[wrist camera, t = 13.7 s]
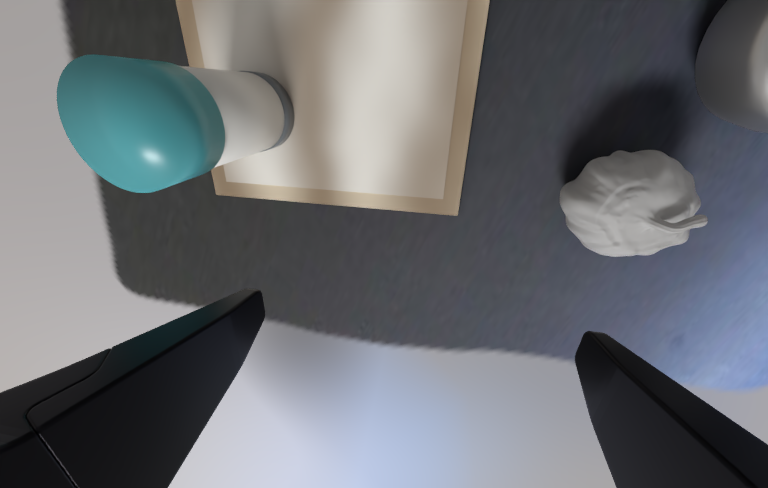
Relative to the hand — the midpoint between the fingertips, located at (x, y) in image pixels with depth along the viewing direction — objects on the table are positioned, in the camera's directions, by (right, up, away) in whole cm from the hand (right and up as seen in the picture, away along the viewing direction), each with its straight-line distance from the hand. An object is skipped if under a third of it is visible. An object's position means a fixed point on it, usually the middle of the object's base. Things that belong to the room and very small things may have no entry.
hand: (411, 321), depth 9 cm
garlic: (+12, +5, +9) cm, 16 cm away
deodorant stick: (-8, +10, +9) cm, 16 cm away
